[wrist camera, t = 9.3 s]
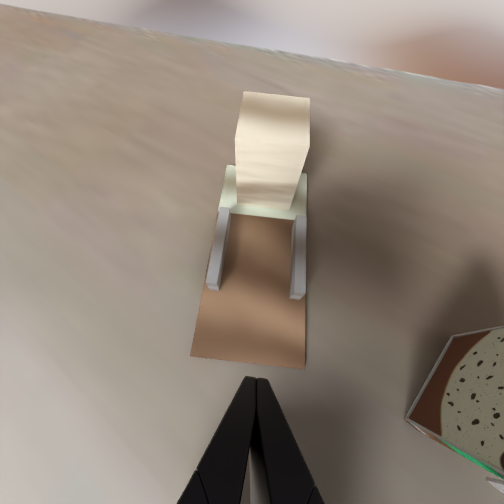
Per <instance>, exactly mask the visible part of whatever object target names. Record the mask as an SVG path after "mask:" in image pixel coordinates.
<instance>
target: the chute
mask: <svg viewBox="0 0 504 504" xmlns="http://www.w3.org/2000/svg"><path fill="white" fill-rule="evenodd" d="M306 203H307V174H306V173H301V175H300V178H299V181H298V184H297V187H296V191H295V194H294V197H293V200H292V203H291V206H290V209H289V210H280V209H271V208H262V207H253V206H243V205H237V188H236V166H233V165H227V168H226V173H225V179H224V184H223V189H222V194H221V199H220V204H219V209H218V215H217V220H216V225H215V230H214V235H213V240H212V246H211V251H210V256H209V261H208V266H207V271H206V276H205V282H204V287H203V292H202V297H201V302H200V307H199V313H198V318H197V323H196V328H195V333H194V338H193V343H192V349H191V354H190V356H193V357H202V358H211V359H219V360H228V361H237V362H246V363H254V364H263V365H272V366H281V367H290V368H298V369H305V304H306Z"/></svg>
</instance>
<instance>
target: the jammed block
mask: <svg viewBox="0 0 504 504" xmlns="http://www.w3.org/2000/svg"><path fill="white" fill-rule="evenodd" d="M309 147H310V98H302V97H293V96H283V95H274V94H265V93H255V92H246V91H244V93H243V98H242V104H241V109H240V114H239V120H238V125H237V130H236V136H235V154H236V188H237V205H243V206H253V207H262V208H271V209H280V210H289V209H290V206H291V203H292V200H293V197H294V194H295V191H296V187H297V184H298V181H299V178H300V175H301V172H302V169H303V166H304V162H305V159H306V156H307V153H308V150H309Z"/></svg>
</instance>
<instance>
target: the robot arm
mask: <svg viewBox="0 0 504 504" xmlns="http://www.w3.org/2000/svg"><path fill="white" fill-rule="evenodd" d="M248 455H249V463H250V503H251V504H324V502H323V499H322V497H321V495H320V493H319V491H318V488H317V487H316V486H315V482H314V480H313V478H312V475H311V473H310V471H309V469H308V467H307V464H306V462H305V460H304V458H303V456H302V453H301V451H300V449H299V447H298V445H297V442H296V440H295V438H294V436H293V434H292V431H291V429H290V427H289V425H288V423H287V420H286V418H285V416H284V414H283V412H282V409H281V407H280V405H279V403H278V401H277V398H276V396H275V394H274V392H273V390H272V388H271V385H270V383H269V381H268V380H267V379H264V378H257V379H256V378H255V377H249V376H245V377H244V379H243V381H242V383H241V385H240V387H239V389H238V390H237V392H236V394H235V396H234V398H233V400H232V402H231V404H230V406H229V407H228V409H227V411H226V413H225V415H224V417H223V419H222V421H221V422H220V424H219V426H218V428H217V430H216V432H215V434H214V436H213V438H212V439H211V441H210V443H209V445H208V447H207V449H206V451H205V453H204V455H203V456H202V458H201V460H200V462H199V464H198V466H197V468H196V470H195V471H194V473H193V475H192V477H191V479H190V481H189V483H188V484H187V486H186V488H185V490H184V491H183V493H182V495H181V497H180V499H179V500H178V502H177V504H240V501H241V496H242V490H243V484H244V478H245V472H246V467H247V461H248Z"/></svg>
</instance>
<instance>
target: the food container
mask: <svg viewBox="0 0 504 504" xmlns="http://www.w3.org/2000/svg"><path fill="white" fill-rule="evenodd" d="M404 420H406V421H407V422H408V423H409V424H411V425H412V426H413V427H414V428H415V429H417V430H418V431H420V432H422V433H424V434H425V435H427V436H429V437H430V438H432V439H434V440H436V441H437V442H439V443H441V444H443V445H444V446H446V447H448V448H449V449H451V450H453V451H455V452H456V453H458V454H460V455H462V456H463V457H465V458H467V459H468V460H470V461H472V462H474V463H475V464H477V465H479V466H481V467H482V468H484V469H486V470H487V471H489V472H491V473H493V474H494V475H496V476H498V477H500V478H501V479H503V480H504V325H502V326H497V327H492V328H487V329H482V330H477V331H471V332H466V333H461V334H456V335H451V337H450V339H449V340H448V342H447V344H446V346H445V347H444V349H443V351H442V353H441V354H440V356H439V358H438V360H437V362H436V363H435V365H434V367H433V369H432V370H431V372H430V374H429V376H428V377H427V379H426V381H425V383H424V384H423V386H422V388H421V390H420V392H419V393H418V395H417V397H416V399H415V400H414V402H413V404H412V406H411V407H410V409H409V411H408V413H407V414H406V416H405V418H404ZM486 481H488V482H489V483H490V484H491V485H493V486H494V487H495V488H496V489H498V490H499V491H500V492H501V493H503V494H504V481H501V480H497V479H493V478H489V477H486Z"/></svg>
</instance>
